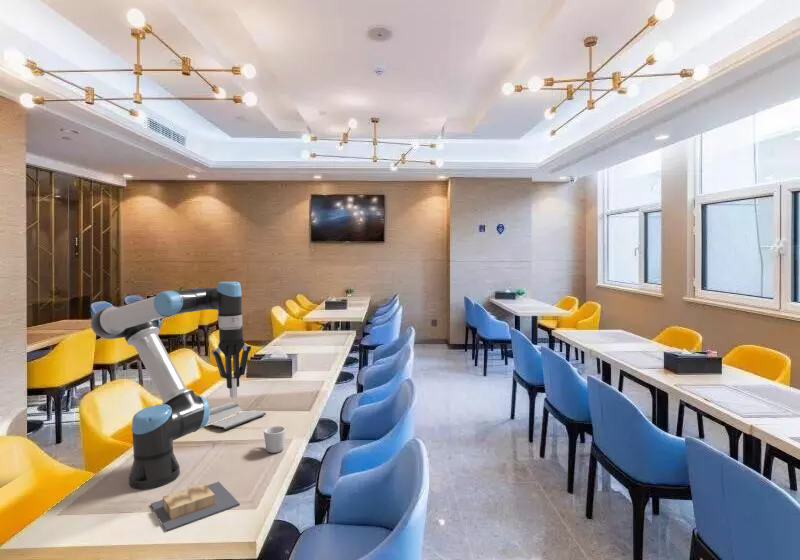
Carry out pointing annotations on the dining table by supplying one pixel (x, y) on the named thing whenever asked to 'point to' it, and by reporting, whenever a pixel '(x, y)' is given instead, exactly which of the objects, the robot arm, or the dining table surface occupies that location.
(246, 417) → the mat
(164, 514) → the slate mat
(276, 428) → the cup
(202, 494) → the tan block
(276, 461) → the dining table surface
